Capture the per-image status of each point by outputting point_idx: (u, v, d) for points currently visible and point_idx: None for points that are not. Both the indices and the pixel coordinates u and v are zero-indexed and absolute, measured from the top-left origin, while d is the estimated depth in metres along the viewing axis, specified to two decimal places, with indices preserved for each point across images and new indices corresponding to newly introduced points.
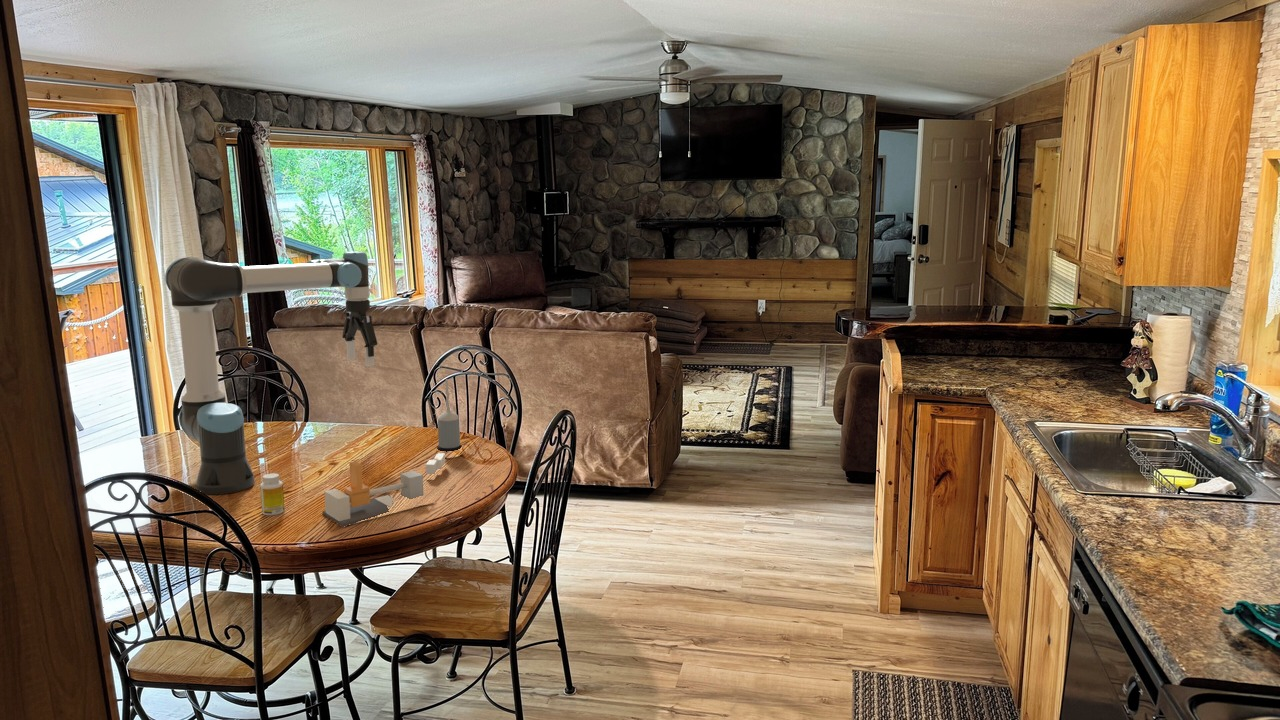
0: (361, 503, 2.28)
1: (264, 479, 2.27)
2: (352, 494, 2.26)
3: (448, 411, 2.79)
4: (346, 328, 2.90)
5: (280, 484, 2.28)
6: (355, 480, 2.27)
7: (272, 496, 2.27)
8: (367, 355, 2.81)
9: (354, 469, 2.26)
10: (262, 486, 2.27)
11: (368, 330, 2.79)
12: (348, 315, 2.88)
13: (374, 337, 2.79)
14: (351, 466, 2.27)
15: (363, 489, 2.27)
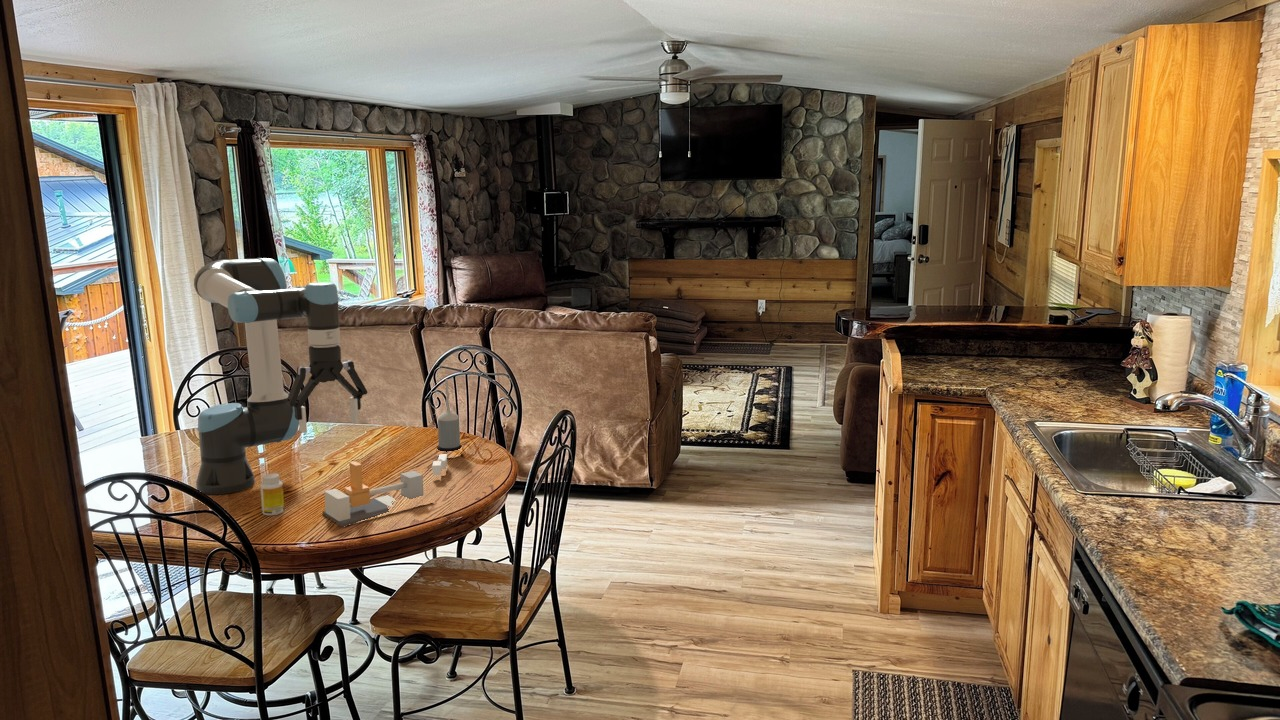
0: (361, 503, 2.28)
1: (264, 479, 2.27)
2: (352, 494, 2.26)
3: (448, 411, 2.79)
4: (353, 381, 2.24)
5: (280, 484, 2.28)
6: (355, 480, 2.27)
7: (272, 496, 2.27)
8: None
9: (354, 469, 2.26)
10: (262, 486, 2.27)
11: (293, 385, 2.14)
12: None
13: (292, 395, 2.12)
14: (351, 466, 2.27)
15: (363, 489, 2.27)
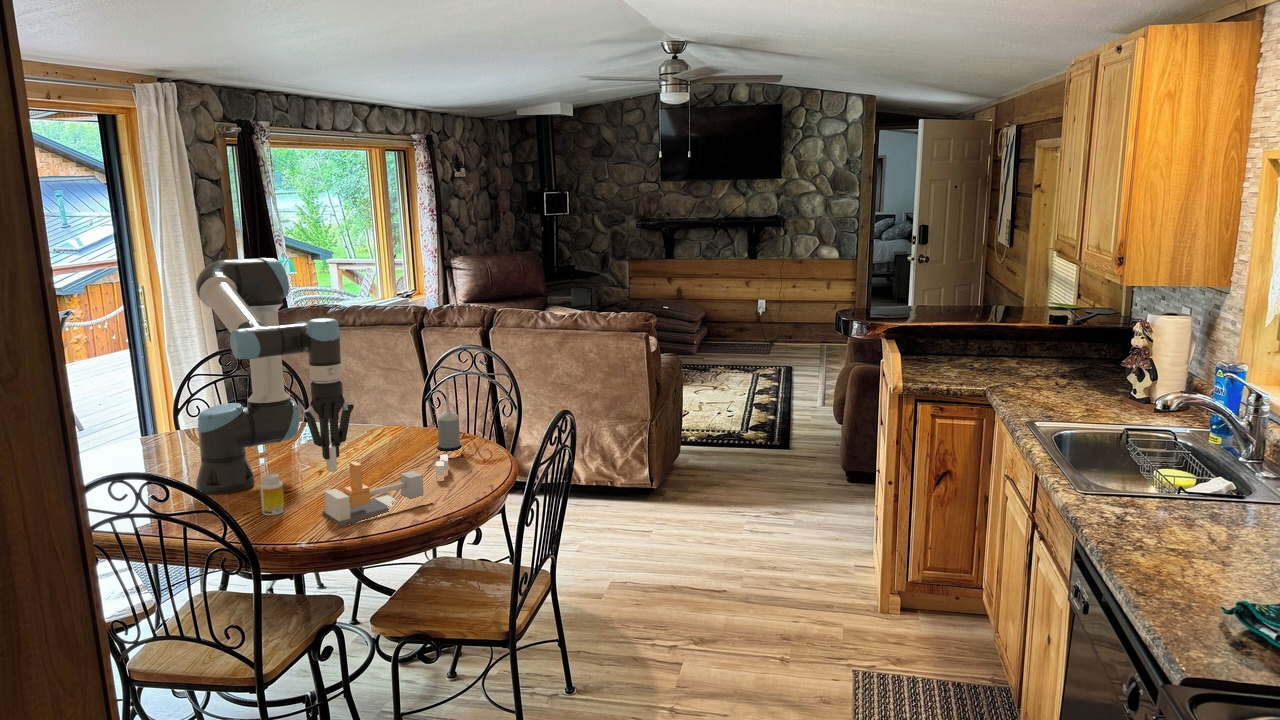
0: (361, 503, 2.28)
1: (264, 479, 2.27)
2: (352, 494, 2.26)
3: (448, 411, 2.79)
4: (340, 424, 2.23)
5: (280, 484, 2.28)
6: (355, 480, 2.27)
7: (272, 496, 2.27)
8: None
9: (354, 469, 2.26)
10: (262, 486, 2.27)
11: (309, 428, 2.18)
12: None
13: (315, 438, 2.17)
14: (351, 466, 2.27)
15: (363, 489, 2.27)
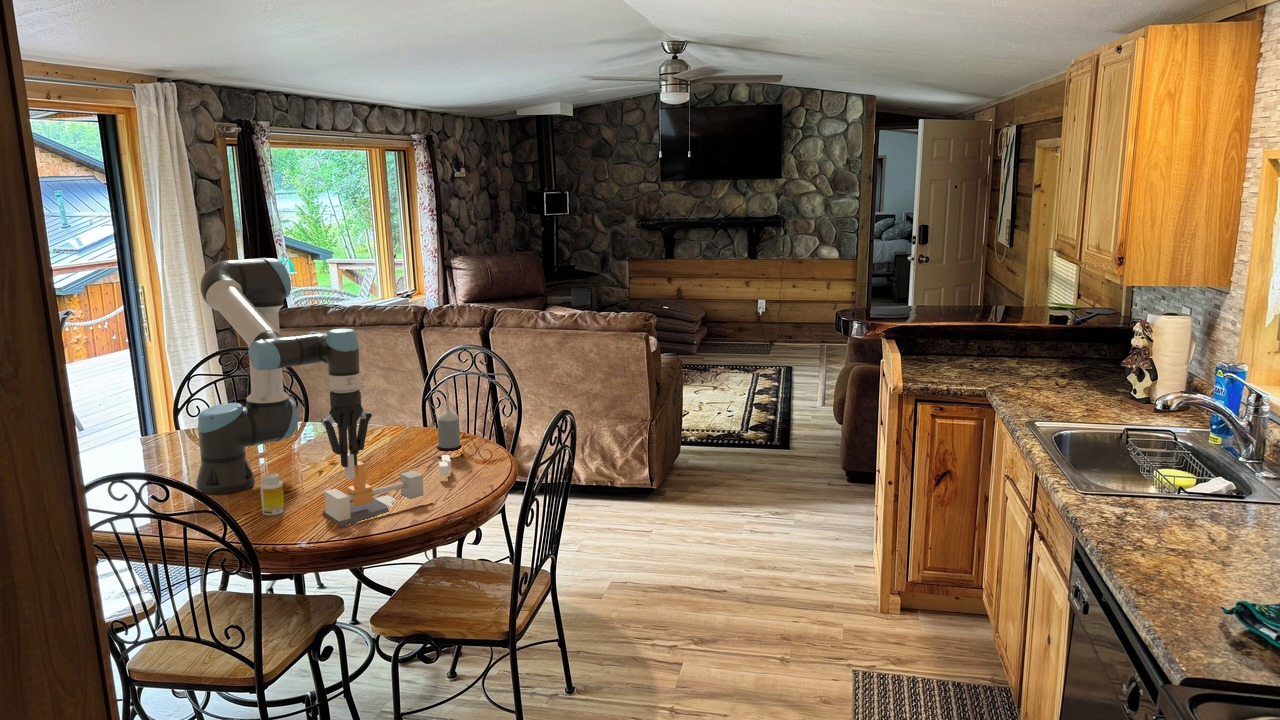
0: (364, 502, 2.28)
1: (264, 479, 2.27)
2: (355, 493, 2.26)
3: (448, 411, 2.79)
4: (358, 432, 2.27)
5: (280, 484, 2.28)
6: (357, 479, 2.27)
7: (272, 496, 2.27)
8: None
9: (356, 468, 2.27)
10: (262, 486, 2.27)
11: (328, 436, 2.22)
12: None
13: (334, 446, 2.21)
14: (354, 465, 2.28)
15: (366, 488, 2.28)
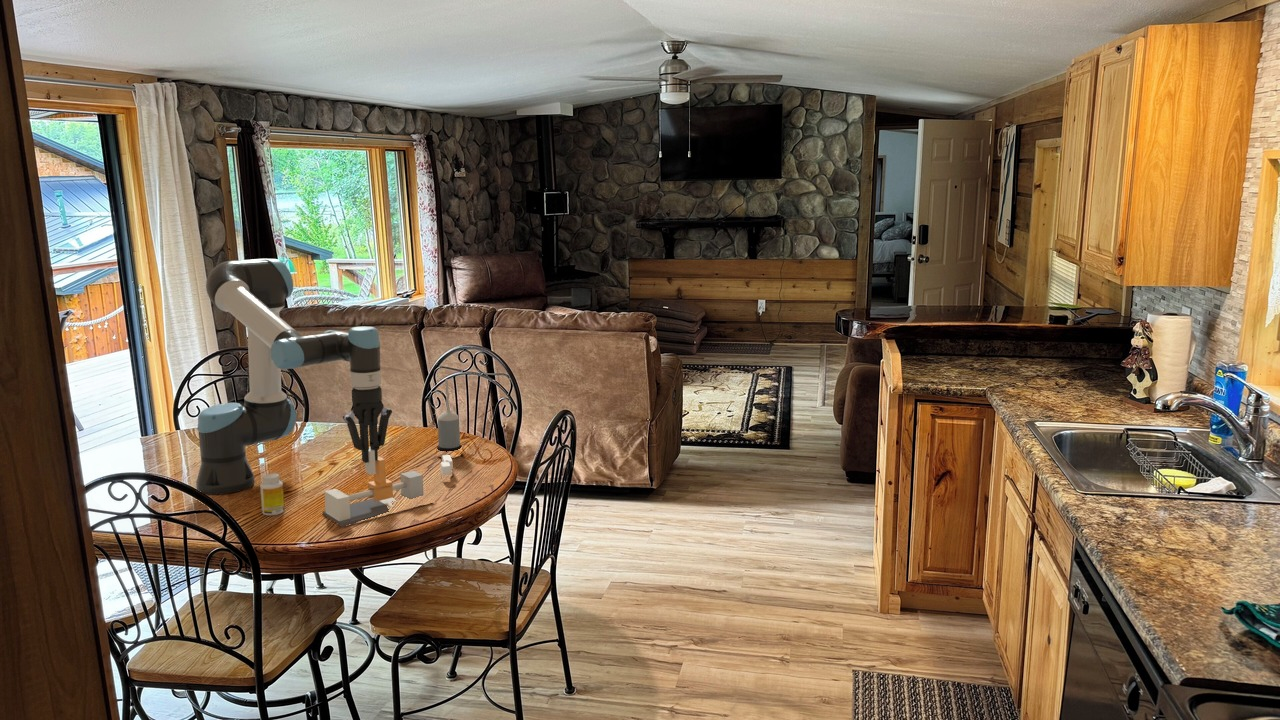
0: (384, 497, 2.32)
1: (264, 479, 2.27)
2: (376, 488, 2.30)
3: (448, 411, 2.79)
4: (378, 428, 2.31)
5: (280, 484, 2.28)
6: (378, 475, 2.31)
7: (272, 496, 2.27)
8: None
9: (377, 463, 2.31)
10: (262, 486, 2.27)
11: (350, 432, 2.25)
12: None
13: (355, 442, 2.25)
14: (375, 461, 2.32)
15: (386, 483, 2.32)
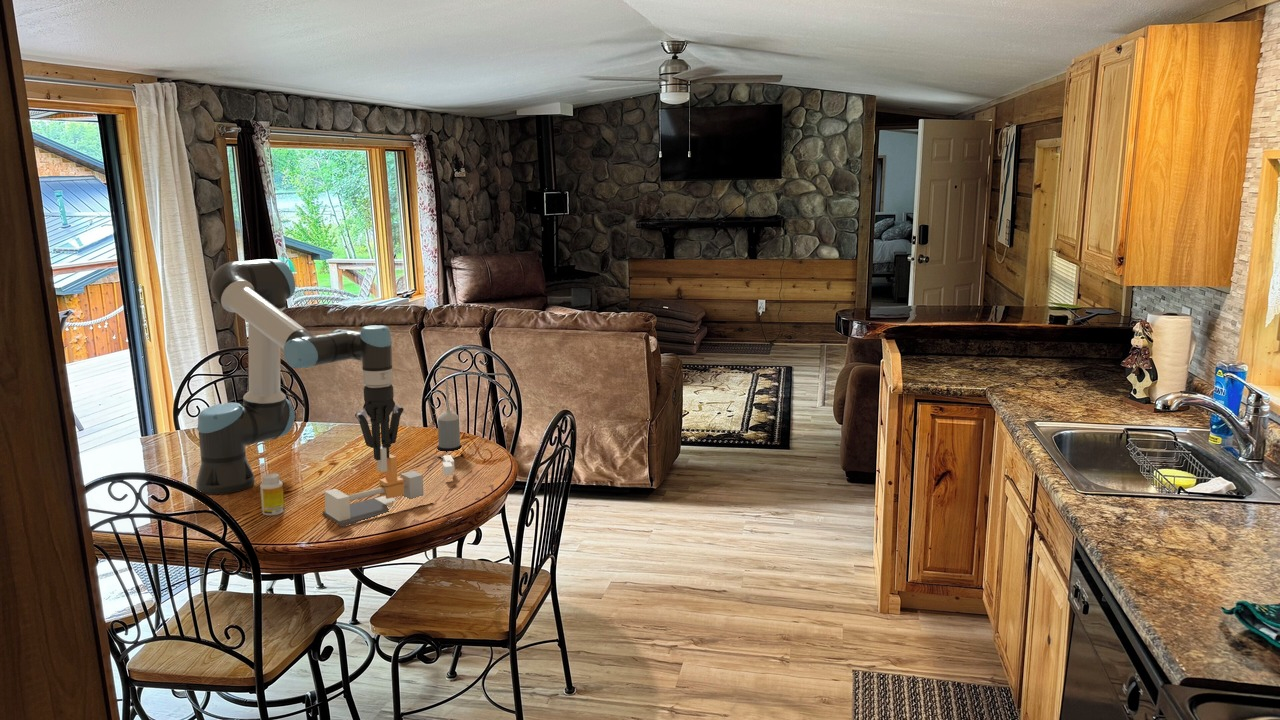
0: (396, 494, 2.34)
1: (264, 479, 2.27)
2: (387, 486, 2.32)
3: (448, 411, 2.79)
4: (390, 426, 2.33)
5: (280, 484, 2.28)
6: (390, 472, 2.33)
7: (272, 496, 2.27)
8: None
9: (389, 461, 2.33)
10: (262, 486, 2.27)
11: (362, 430, 2.28)
12: None
13: (367, 439, 2.28)
14: None
15: (397, 481, 2.34)
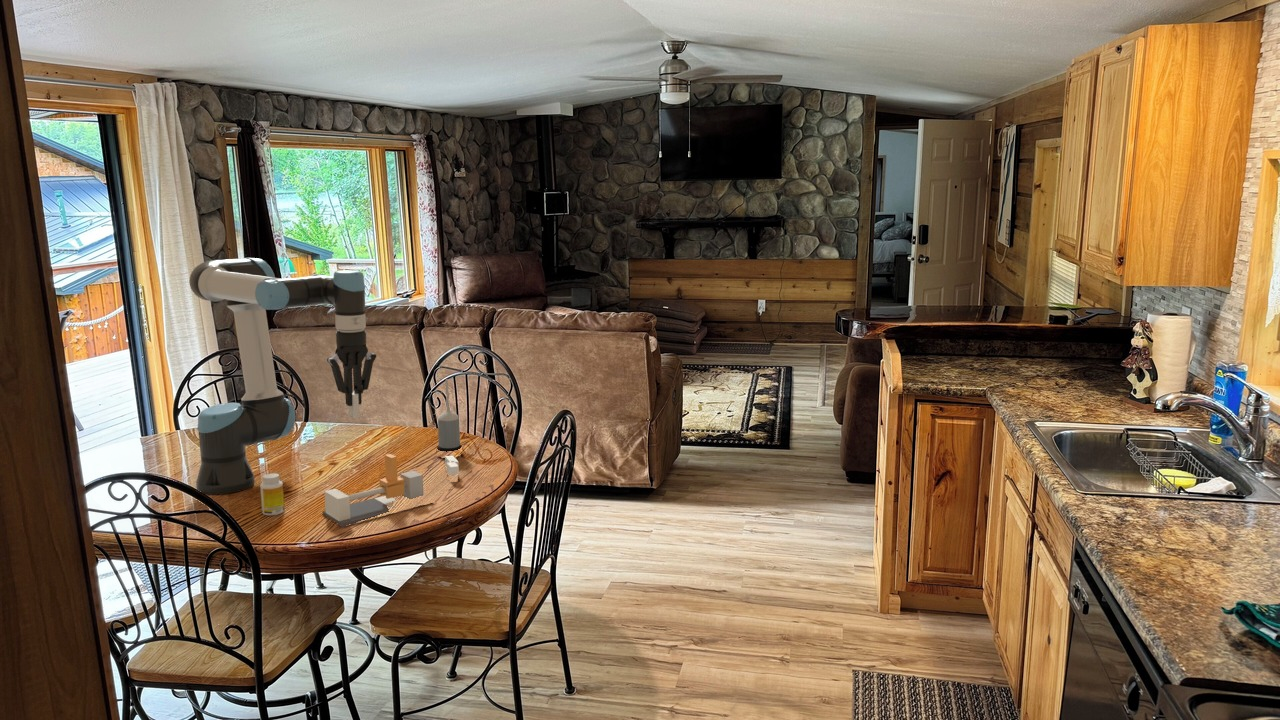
0: (396, 494, 2.34)
1: (264, 479, 2.27)
2: (388, 485, 2.32)
3: (448, 411, 2.79)
4: (363, 373, 2.33)
5: (280, 484, 2.28)
6: (390, 472, 2.33)
7: (272, 496, 2.27)
8: None
9: (389, 461, 2.33)
10: (262, 486, 2.27)
11: (334, 375, 2.27)
12: None
13: (339, 385, 2.27)
14: (386, 458, 2.34)
15: (398, 480, 2.34)
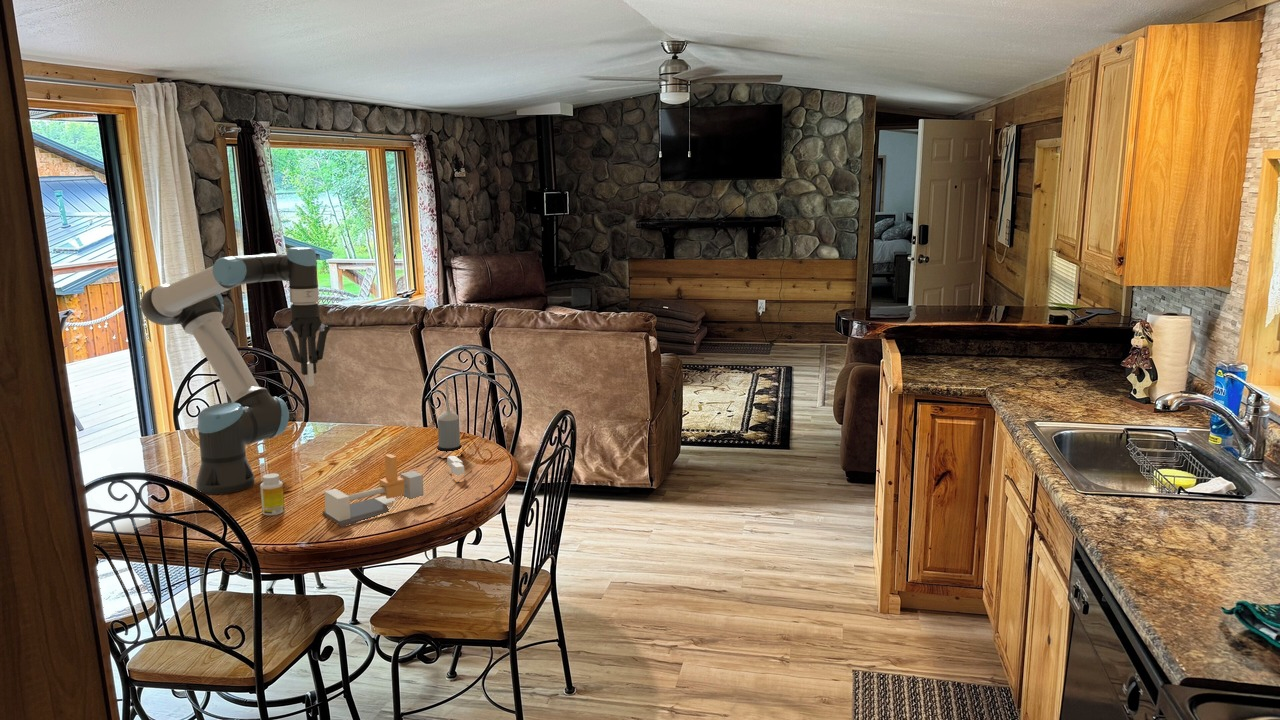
0: (396, 494, 2.34)
1: (264, 479, 2.27)
2: (388, 485, 2.32)
3: (448, 411, 2.79)
4: (317, 344, 2.48)
5: (280, 484, 2.28)
6: (390, 472, 2.33)
7: (272, 496, 2.27)
8: None
9: (389, 461, 2.33)
10: (262, 486, 2.27)
11: (289, 345, 2.43)
12: None
13: (294, 354, 2.42)
14: (386, 458, 2.34)
15: (398, 480, 2.34)
